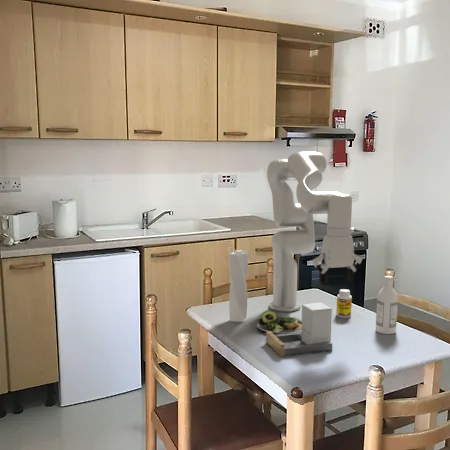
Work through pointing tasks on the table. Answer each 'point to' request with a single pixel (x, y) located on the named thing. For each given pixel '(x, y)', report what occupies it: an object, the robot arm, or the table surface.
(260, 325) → the salad plate
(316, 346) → the channel bracket
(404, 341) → the table surface
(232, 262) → the skyscraper
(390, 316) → the bath foam
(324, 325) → the supplement box
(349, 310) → the supplement bottle
